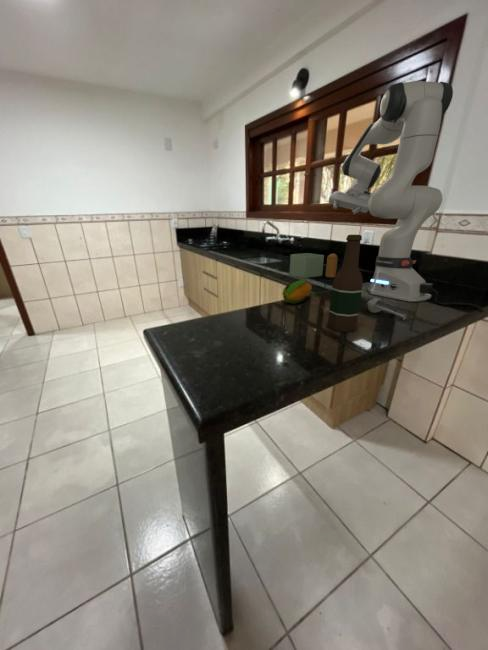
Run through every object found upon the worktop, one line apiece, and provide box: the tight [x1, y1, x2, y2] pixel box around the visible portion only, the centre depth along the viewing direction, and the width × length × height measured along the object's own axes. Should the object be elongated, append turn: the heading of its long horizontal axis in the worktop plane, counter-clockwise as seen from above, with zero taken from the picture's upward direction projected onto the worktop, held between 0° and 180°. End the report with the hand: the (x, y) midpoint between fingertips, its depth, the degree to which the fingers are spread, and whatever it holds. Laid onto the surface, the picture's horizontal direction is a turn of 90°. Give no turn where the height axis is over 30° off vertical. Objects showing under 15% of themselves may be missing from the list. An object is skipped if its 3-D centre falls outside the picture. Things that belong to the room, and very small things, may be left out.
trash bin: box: [289, 252, 325, 279], centre depth 142 cm, size 12×12×11 cm
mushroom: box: [366, 297, 408, 321], centre depth 81 cm, size 7×5×12 cm
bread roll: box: [324, 253, 339, 278], centre depth 138 cm, size 5×5×12 cm
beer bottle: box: [327, 234, 364, 333], centre depth 67 cm, size 8×8×24 cm
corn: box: [281, 279, 313, 305], centre depth 96 cm, size 7×8×20 cm
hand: (343, 210), depth 128 cm, fingers open, 8 cm apart
